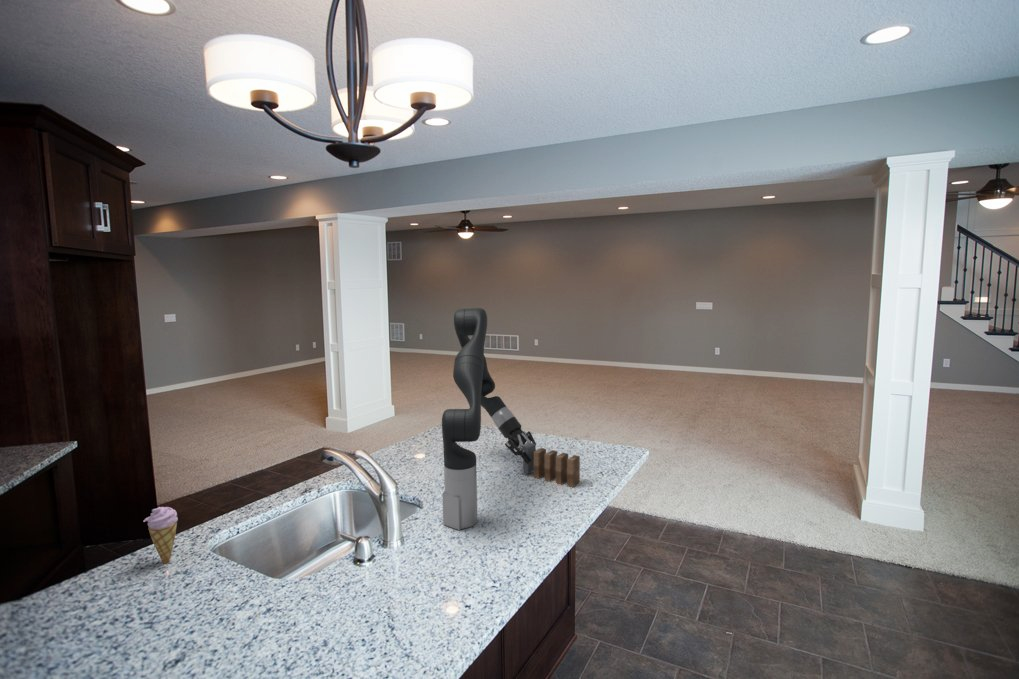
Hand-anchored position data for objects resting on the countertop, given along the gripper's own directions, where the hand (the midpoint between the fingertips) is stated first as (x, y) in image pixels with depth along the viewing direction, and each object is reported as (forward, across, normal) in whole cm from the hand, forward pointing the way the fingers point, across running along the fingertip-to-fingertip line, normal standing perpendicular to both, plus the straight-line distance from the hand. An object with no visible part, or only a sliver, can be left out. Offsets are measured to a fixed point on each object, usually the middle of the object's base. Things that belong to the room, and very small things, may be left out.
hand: (533, 460), depth 183 cm
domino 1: (+2, 0, +4) cm, 5 cm away
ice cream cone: (-27, -101, +35) cm, 110 cm away
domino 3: (+9, 0, -1) cm, 9 cm away
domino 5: (+15, 0, -8) cm, 17 cm away
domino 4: (+12, 0, -4) cm, 13 cm away
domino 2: (+6, 0, +2) cm, 6 cm away
